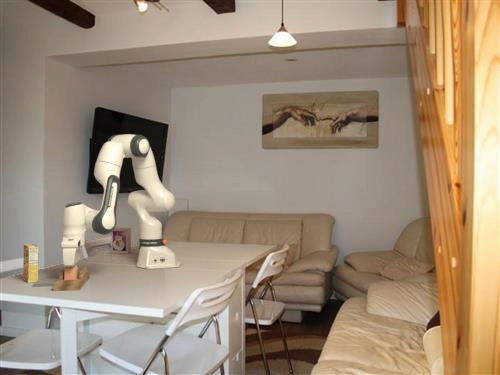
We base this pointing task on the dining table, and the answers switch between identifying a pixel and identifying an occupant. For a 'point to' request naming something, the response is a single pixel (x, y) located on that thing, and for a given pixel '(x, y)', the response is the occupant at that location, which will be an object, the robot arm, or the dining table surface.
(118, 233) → the greeting card
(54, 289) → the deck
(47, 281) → the trivet
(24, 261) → the candy box
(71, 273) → the block
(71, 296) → the dining table surface
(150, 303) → the dining table surface
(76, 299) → the dining table surface
